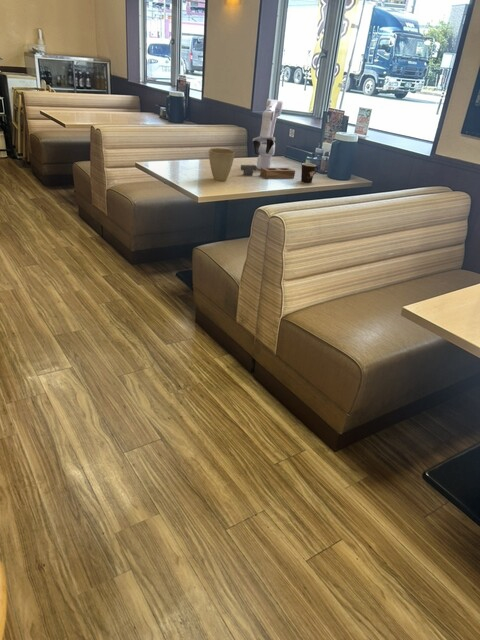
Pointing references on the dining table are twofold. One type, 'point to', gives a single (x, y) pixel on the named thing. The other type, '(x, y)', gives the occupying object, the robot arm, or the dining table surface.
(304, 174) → the coffee mug
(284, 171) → the wooden slotted block
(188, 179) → the dining table surface
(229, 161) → the plant pot
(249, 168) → the grey rectangular block
